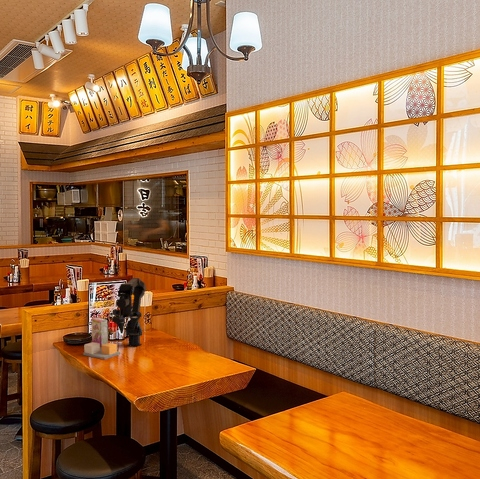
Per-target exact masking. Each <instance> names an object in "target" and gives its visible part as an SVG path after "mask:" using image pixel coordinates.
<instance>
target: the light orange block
mask: <svg viewBox="0 0 480 479" xmlns="http://www.w3.org/2000/svg"><path fill="white" fill-rule="evenodd" d="M117 351H118V343H112V342H108V343H107V344H104V345H102V353H104V354H109V355H110V354H113V353H116V352H117Z"/></svg>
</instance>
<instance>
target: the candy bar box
mask: <svg viewBox="0 0 480 479" xmlns="http://www.w3.org/2000/svg"><path fill="white" fill-rule="evenodd" d="M90 322H91V342H94V343H99V344H100V348H102V345H104V344H107V343H109V333H108V332H109V331H108V328H109V327H108V324H109V323H108V320H107V319H105V318H102V317H101V318H100V317H92V318H91V321H90Z"/></svg>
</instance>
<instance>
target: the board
mask: <svg viewBox="0 0 480 479" xmlns="http://www.w3.org/2000/svg"><path fill="white" fill-rule="evenodd" d="M83 345H84V346H83V347H84V352H82V355H83V356H86V357H91V358H96V359H100V360H101V359H102V360H107V359H110V358H113V357H116V356H118V355H121V351H118V350H117V352H116V353H113V354H110V355H109V354H104V353H102V348H101V347H100V344H99V343H94V342H92V341H91V342H89V343H85V344H83Z"/></svg>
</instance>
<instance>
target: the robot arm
mask: <svg viewBox="0 0 480 479" xmlns="http://www.w3.org/2000/svg"><path fill="white" fill-rule="evenodd" d="M146 290H147V286H146V283H145V282H144V281H142V280H141V278H139V277H133V278H132V277H131V279H130V280H129V281H127V282H125V283H123V282H122V283H121V284H120V285H119V288H118V294H117V297H119V298H117V300H116V302H115V304H116V305H115V306H116V307H117V308H118V309H117V308H116V309H112V316H113V317H112V319H111V322H113V323H114V324H116V325H117V327H118V330H119V332H120V334H123V333H124V330H125V334H126V337H128V344H127V345H126V346H128V347H132V348H136V347H139V346H141V345H143V344H142V343H141V342H140V341H141V340H140V338H141V337H142V336H143V329H142V327H141V324H140V322H139V320H140V319H141V317H142V312H141V311H140V310H141V304H142V303H141V302H142V298H143V297H144V296H145V293H146ZM127 319H129V320H127ZM125 320H127V322H125ZM125 323H126V327H125ZM124 328H125V329H124Z"/></svg>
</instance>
